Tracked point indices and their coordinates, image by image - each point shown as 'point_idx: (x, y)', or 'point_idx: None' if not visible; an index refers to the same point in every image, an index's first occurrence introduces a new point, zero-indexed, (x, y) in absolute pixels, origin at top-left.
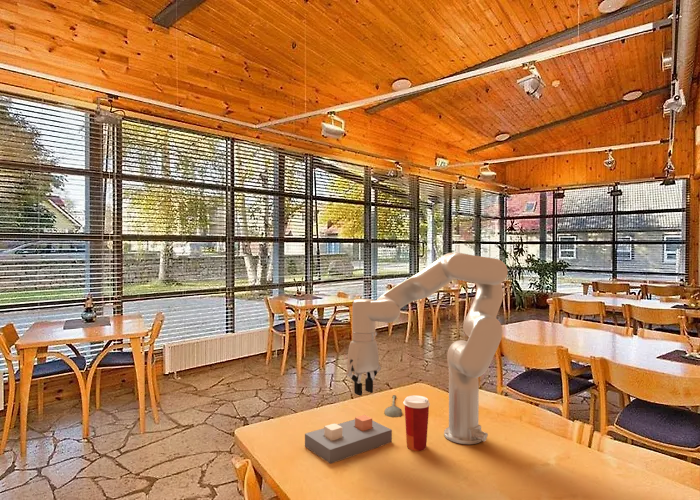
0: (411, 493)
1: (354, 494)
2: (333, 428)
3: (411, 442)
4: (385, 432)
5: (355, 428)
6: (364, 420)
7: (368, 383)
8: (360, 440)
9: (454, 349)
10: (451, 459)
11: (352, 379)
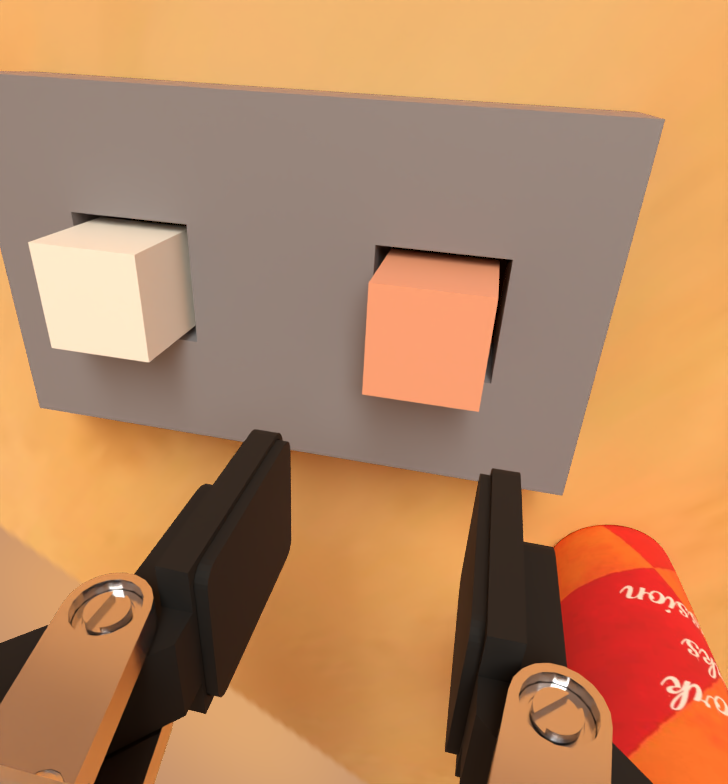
0: (251, 698)
1: (81, 582)
2: (78, 330)
3: None
4: None
5: (361, 289)
6: (388, 393)
7: (458, 651)
8: None
9: None
10: None
11: (2, 667)
